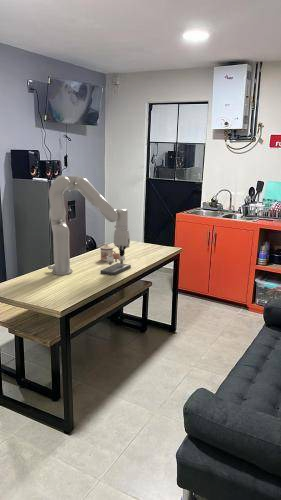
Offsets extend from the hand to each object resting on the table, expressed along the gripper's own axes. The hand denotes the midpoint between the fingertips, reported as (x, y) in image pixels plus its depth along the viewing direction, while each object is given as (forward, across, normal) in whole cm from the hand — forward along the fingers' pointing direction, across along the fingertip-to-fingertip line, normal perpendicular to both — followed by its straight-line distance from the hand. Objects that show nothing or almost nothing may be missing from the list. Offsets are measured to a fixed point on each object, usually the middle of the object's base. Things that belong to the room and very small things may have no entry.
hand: (122, 255), depth 249 cm
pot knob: (+3, 0, -7) cm, 8 cm away
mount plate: (+8, 0, -7) cm, 11 cm away
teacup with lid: (+9, -19, +12) cm, 24 cm away
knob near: (+3, 0, -14) cm, 14 cm away
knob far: (+5, 0, 0) cm, 5 cm away
